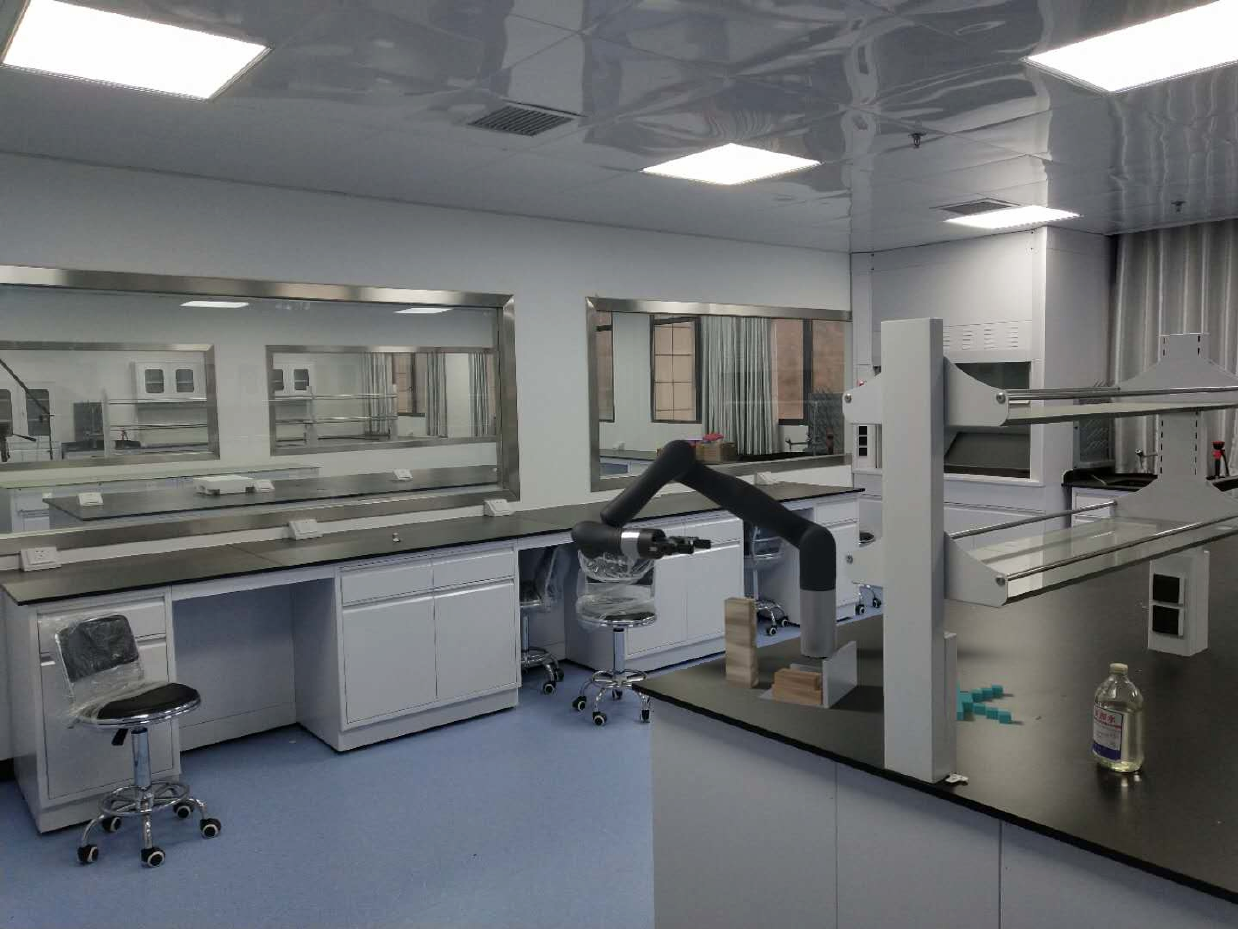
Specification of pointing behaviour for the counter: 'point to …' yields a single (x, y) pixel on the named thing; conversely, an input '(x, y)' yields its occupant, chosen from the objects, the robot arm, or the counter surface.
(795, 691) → the block
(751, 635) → the plywood board
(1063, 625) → the counter surface
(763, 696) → the board rack
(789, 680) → the upper offcut
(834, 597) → the robot arm
